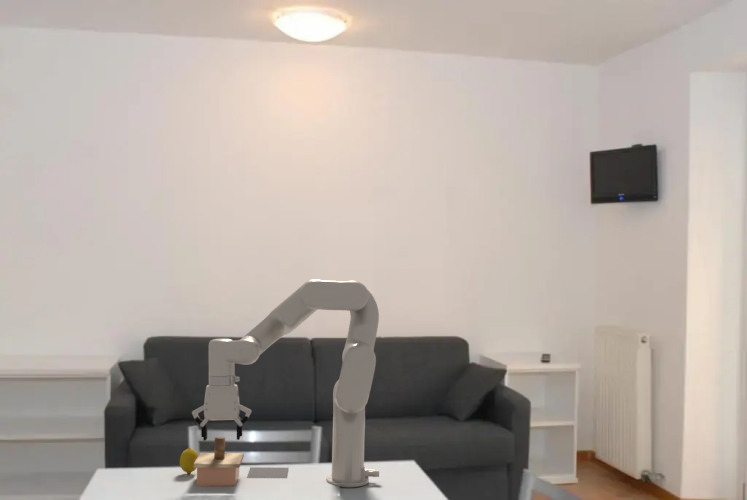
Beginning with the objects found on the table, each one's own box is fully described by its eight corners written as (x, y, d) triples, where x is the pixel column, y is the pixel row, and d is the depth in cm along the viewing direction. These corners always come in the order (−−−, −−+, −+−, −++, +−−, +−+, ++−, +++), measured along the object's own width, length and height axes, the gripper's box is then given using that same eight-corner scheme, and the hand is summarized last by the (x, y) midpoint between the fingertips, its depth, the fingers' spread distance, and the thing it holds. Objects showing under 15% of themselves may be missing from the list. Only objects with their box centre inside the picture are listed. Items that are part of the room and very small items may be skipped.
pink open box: (239, 477, 240) (239, 457, 240) (235, 487, 229) (235, 466, 229) (202, 477, 239) (202, 457, 239) (196, 487, 228) (197, 466, 228)
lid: (243, 456, 241) (244, 433, 241) (239, 467, 228) (239, 443, 228) (200, 456, 240) (200, 433, 240) (193, 467, 227) (194, 442, 227)
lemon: (193, 477, 239) (194, 450, 239) (176, 475, 240) (177, 449, 240) (201, 472, 244) (201, 446, 244) (184, 471, 245) (185, 445, 245)
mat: (288, 469, 250) (288, 467, 250) (287, 480, 238) (287, 478, 238) (250, 469, 249) (250, 467, 249) (246, 479, 237) (246, 477, 237)
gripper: (252, 378, 239) (252, 435, 238) (193, 379, 237) (194, 437, 237) (250, 382, 231) (250, 441, 231) (189, 383, 230) (190, 442, 230)
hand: (221, 439), depth 234 cm, fingers open, 9 cm apart
